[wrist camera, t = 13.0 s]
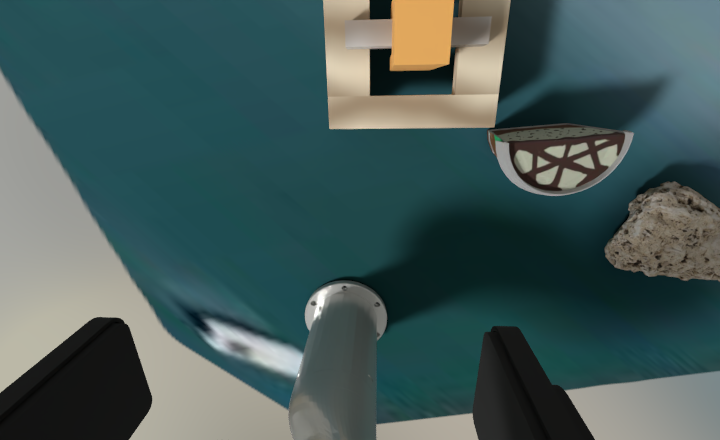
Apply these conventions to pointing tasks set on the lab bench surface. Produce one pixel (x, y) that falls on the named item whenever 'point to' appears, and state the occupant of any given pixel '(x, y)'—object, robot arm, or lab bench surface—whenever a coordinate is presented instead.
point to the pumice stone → (669, 235)
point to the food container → (558, 156)
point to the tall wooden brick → (421, 34)
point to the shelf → (460, 110)
